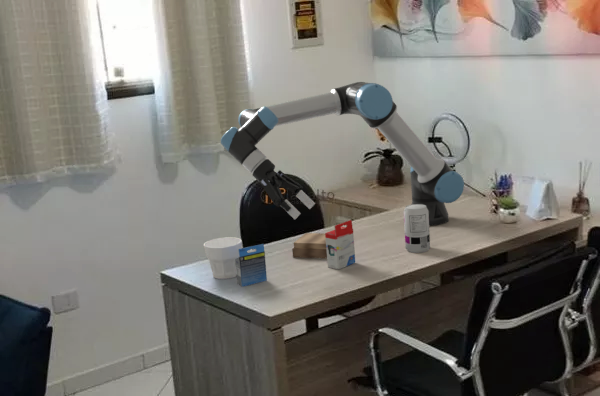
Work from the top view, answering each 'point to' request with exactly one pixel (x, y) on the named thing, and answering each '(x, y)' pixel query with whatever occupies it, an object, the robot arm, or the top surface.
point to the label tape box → (251, 265)
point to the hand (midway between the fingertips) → (305, 211)
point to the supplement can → (416, 228)
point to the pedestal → (310, 246)
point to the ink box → (340, 246)
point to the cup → (223, 256)
